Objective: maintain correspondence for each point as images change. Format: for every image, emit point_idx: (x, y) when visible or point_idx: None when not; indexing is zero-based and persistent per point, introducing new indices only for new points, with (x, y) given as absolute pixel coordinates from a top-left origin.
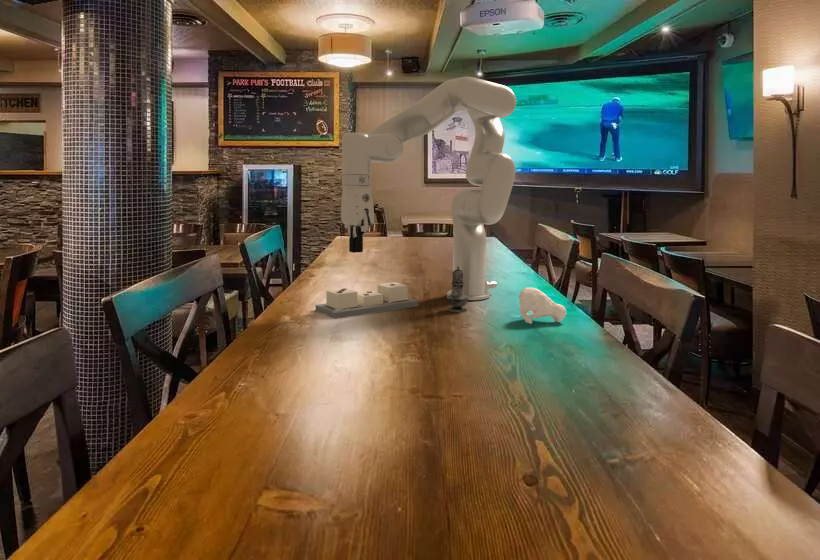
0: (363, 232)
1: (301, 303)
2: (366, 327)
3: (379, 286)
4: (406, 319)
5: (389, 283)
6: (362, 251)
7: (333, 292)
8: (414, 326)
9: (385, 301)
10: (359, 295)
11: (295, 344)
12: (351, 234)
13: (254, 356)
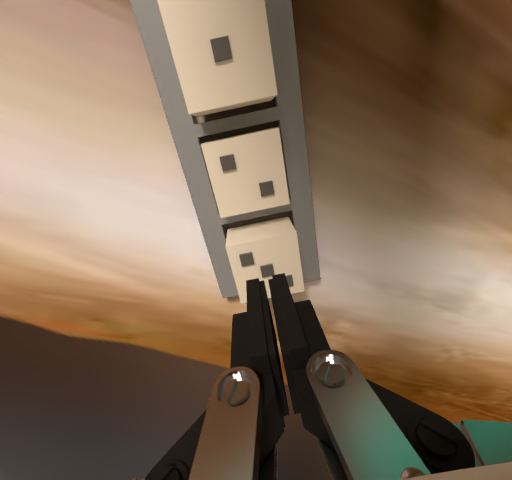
0: (419, 413)
1: (138, 302)
2: (419, 234)
3: (203, 111)
4: (416, 112)
5: (178, 47)
6: (284, 273)
7: None
8: (487, 124)
9: None
10: (262, 209)
11: (436, 355)
12: (275, 443)
13: (450, 396)
